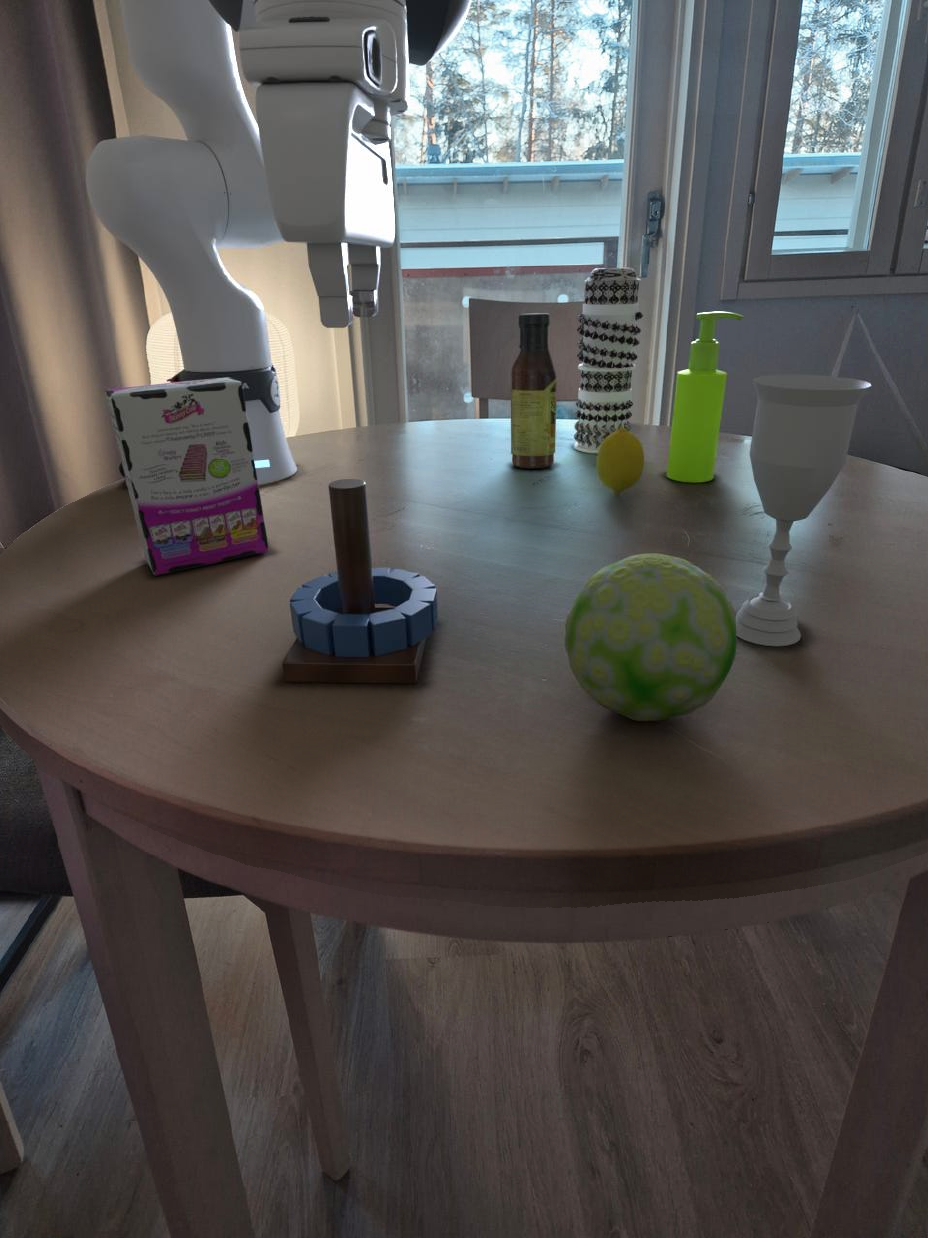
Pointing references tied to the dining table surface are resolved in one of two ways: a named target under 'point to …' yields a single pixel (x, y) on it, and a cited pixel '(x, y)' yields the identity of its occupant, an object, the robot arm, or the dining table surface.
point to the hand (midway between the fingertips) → (352, 321)
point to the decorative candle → (606, 355)
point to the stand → (352, 602)
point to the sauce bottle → (533, 396)
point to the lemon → (620, 460)
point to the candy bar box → (189, 471)
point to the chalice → (794, 477)
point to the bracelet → (365, 615)
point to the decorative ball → (651, 637)
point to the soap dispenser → (698, 407)
